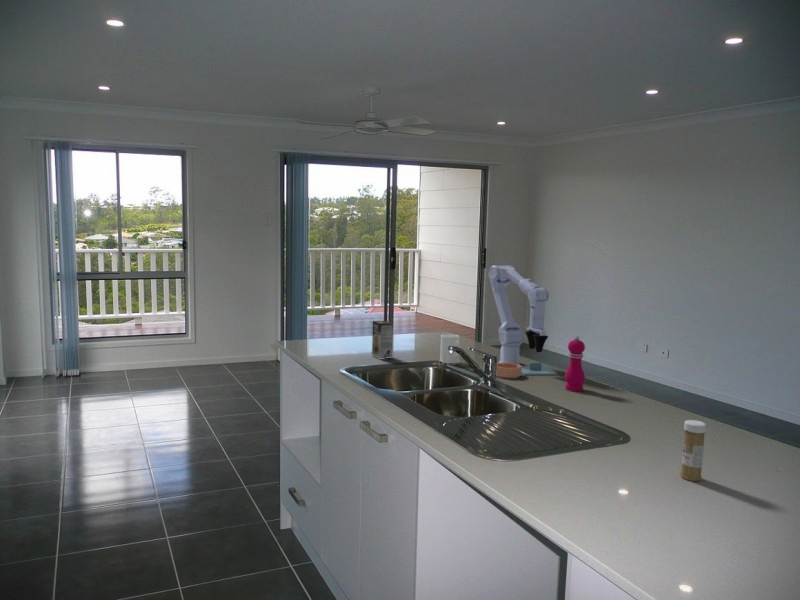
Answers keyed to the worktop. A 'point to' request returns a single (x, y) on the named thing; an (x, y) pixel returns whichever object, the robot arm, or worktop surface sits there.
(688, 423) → the sprinkles bottle
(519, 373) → the bowl
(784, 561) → the worktop surface
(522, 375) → the mat
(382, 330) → the coffee box
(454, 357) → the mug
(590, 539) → the worktop surface
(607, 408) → the worktop surface
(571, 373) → the pepper mill
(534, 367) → the cover sheet
